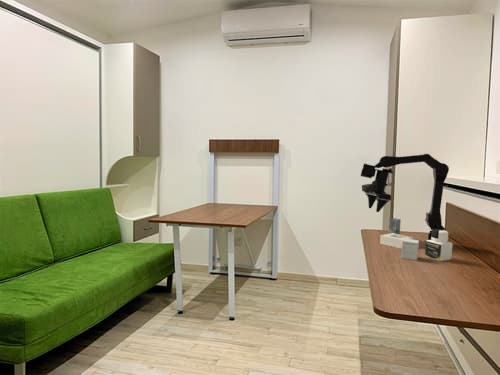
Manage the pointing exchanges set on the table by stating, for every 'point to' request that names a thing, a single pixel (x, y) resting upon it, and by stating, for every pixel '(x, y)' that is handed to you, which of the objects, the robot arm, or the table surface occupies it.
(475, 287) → the table surface
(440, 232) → the medicine bottle
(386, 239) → the socket block
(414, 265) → the table surface
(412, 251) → the product box
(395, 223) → the peg
